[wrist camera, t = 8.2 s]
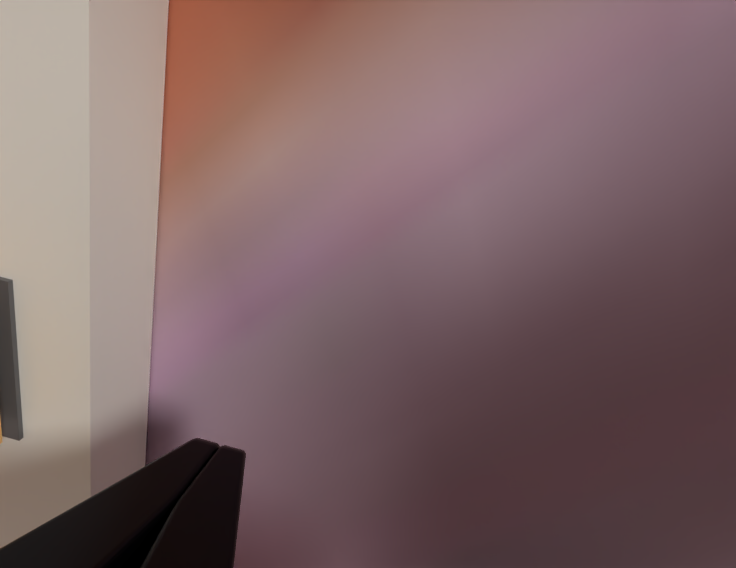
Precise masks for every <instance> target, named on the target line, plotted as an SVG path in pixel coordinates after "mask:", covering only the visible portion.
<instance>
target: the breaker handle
mask: <svg viewBox="0 0 736 568" xmlns="http://www.w3.org/2000/svg"><path fill="white" fill-rule="evenodd" d="M2 442H3V441H2V430H1V419H0V444H1V443H2Z"/></svg>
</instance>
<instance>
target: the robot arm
mask: <svg viewBox="0 0 736 568" xmlns="http://www.w3.org/2000/svg"><path fill="white" fill-rule="evenodd" d="M245 458H246V453H245V451H243V450H240V449H237V448H233V447H229V446H226V445H224V446H221V447H220V446H219V445H218V444H217V443H215V442H211V441H207V440H203V439H200V438H195V439H192V440H190V441H188V442H187V443H185V444H183V445H181V446H179V447H178V448H176V449H174V450H172V451H171V452H169V453H167V454H165V455H164V456H162V457H160V458H158V459H157V460H155V461H153V462H151V463H150V464H148V465H146V466H144V467H142V468H141V469H139V470H137V471H135V472H134V473H132V474H130V475H128V476H127V477H125V478H123V479H121V480H120V481H118V482H116V483H114V484H113V485H111V486H109V487H107V488H105V489H104V490H102V491H100V492H98V493H97V494H95V495H93V496H91V497H90V498H88V499H86V500H84V501H83V502H81V503H79V504H77V505H76V506H74V507H72V508H70V509H69V510H67V511H65V512H63V513H61V514H60V515H58V516H56V517H54V518H53V519H51V520H49V521H47V522H46V523H44V524H42V525H40V526H39V527H37V528H35V529H33V530H32V531H30V532H28V533H26V534H24V535H23V536H21V537H19V538H17V539H16V540H14V541H12V542H10V543H9V544H7V545H5V546H3V547H2V548H0V568H233V567H234V558H235V549H236V539H237V530H238V521H239V512H240V503H241V494H242V485H243V476H244V467H245Z"/></svg>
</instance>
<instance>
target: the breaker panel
mask: <svg viewBox="0 0 736 568" xmlns="http://www.w3.org/2000/svg"><path fill="white" fill-rule="evenodd" d="M168 7H169V0H0V419H1V430H2V441H3V442H2V443H1V444H0V548H2V547H3V546H5V545H7V544H9V543H10V542H12V541H14V540H16V539H17V538H19V537H21V536H23V535H24V534H26V533H28V532H30V531H32V530H33V529H35V528H37V527H39V526H40V525H42V524H44V523H46V522H47V521H49V520H51V519H53V518H54V517H56V516H58V515H60V514H61V513H63V512H65V511H67V510H69V509H70V508H72V507H74V506H76V505H77V504H79V503H81V502H83V501H84V500H86V499H88V498H90V497H91V496H93V495H95V494H97V493H98V492H100V491H102V490H104V489H105V488H107V487H109V486H111V485H113V484H114V483H116V482H118V481H120V480H121V479H123V478H125V477H127V476H128V475H130V474H132V473H134V472H135V471H137V470H139V469H141V468H142V467H144V466H145V458H146V439H147V419H148V399H149V380H150V360H151V340H152V321H153V301H154V281H155V262H156V242H157V223H158V203H159V183H160V164H161V144H162V124H163V105H164V85H165V65H166V46H167V26H168Z"/></svg>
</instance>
